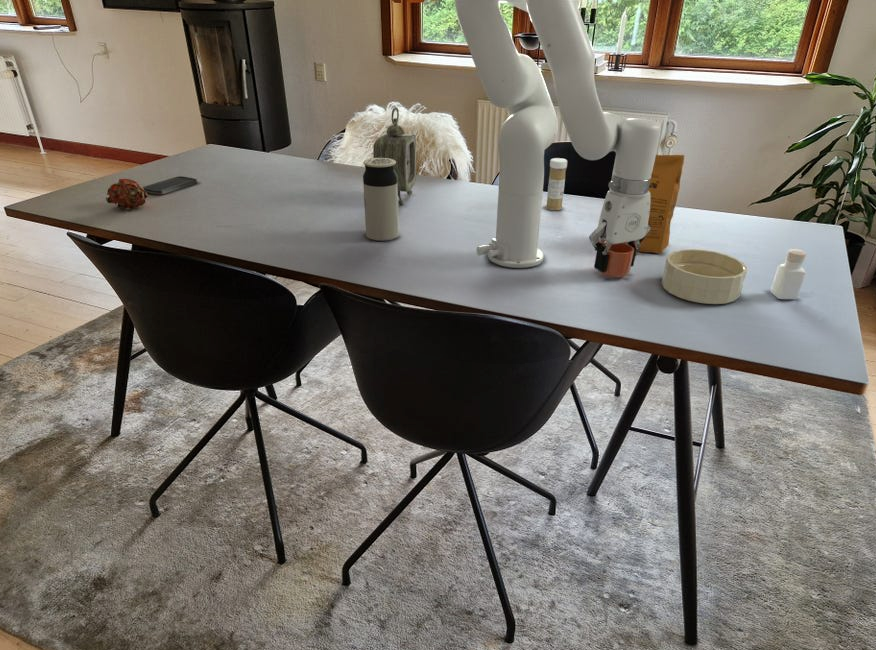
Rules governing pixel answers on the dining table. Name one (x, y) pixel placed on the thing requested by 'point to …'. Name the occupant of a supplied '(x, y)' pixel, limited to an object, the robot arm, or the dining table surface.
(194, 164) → the dining table surface
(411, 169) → the weathered lantern
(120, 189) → the brown knobby oval lump
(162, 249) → the dining table surface
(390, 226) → the travel mug
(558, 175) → the sprinkles bottle
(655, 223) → the coffee package
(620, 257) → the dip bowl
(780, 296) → the pepper shaker
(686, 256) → the serving bowl
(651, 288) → the dining table surface
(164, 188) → the phone
